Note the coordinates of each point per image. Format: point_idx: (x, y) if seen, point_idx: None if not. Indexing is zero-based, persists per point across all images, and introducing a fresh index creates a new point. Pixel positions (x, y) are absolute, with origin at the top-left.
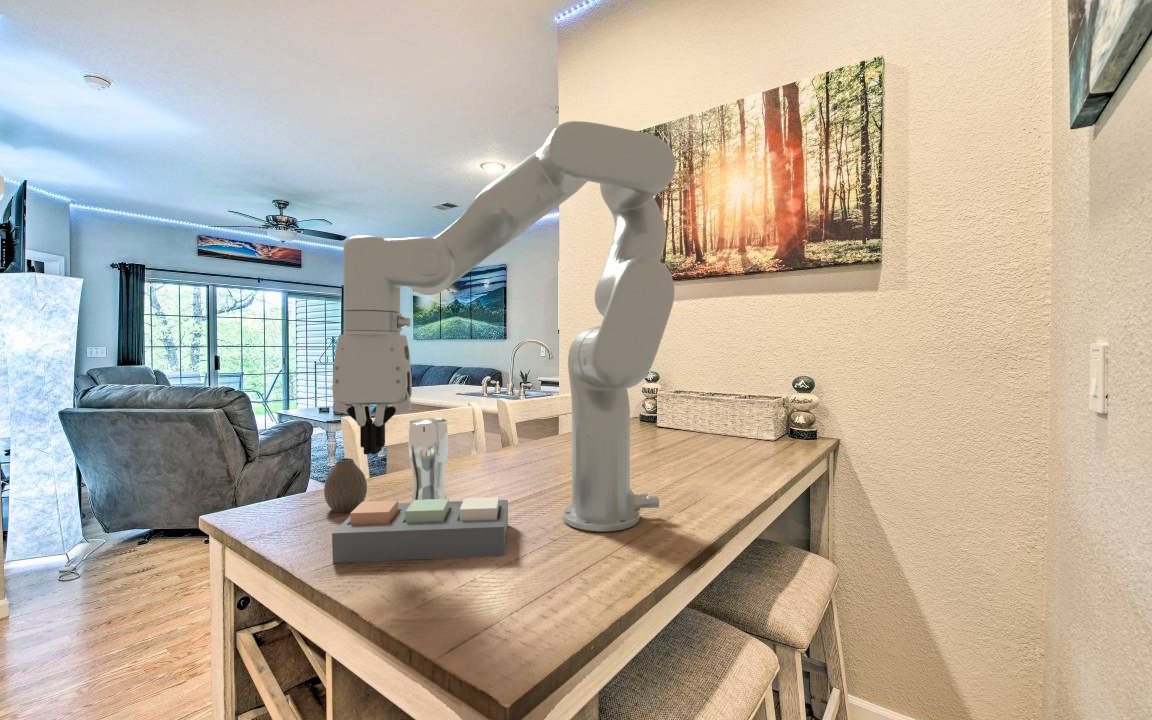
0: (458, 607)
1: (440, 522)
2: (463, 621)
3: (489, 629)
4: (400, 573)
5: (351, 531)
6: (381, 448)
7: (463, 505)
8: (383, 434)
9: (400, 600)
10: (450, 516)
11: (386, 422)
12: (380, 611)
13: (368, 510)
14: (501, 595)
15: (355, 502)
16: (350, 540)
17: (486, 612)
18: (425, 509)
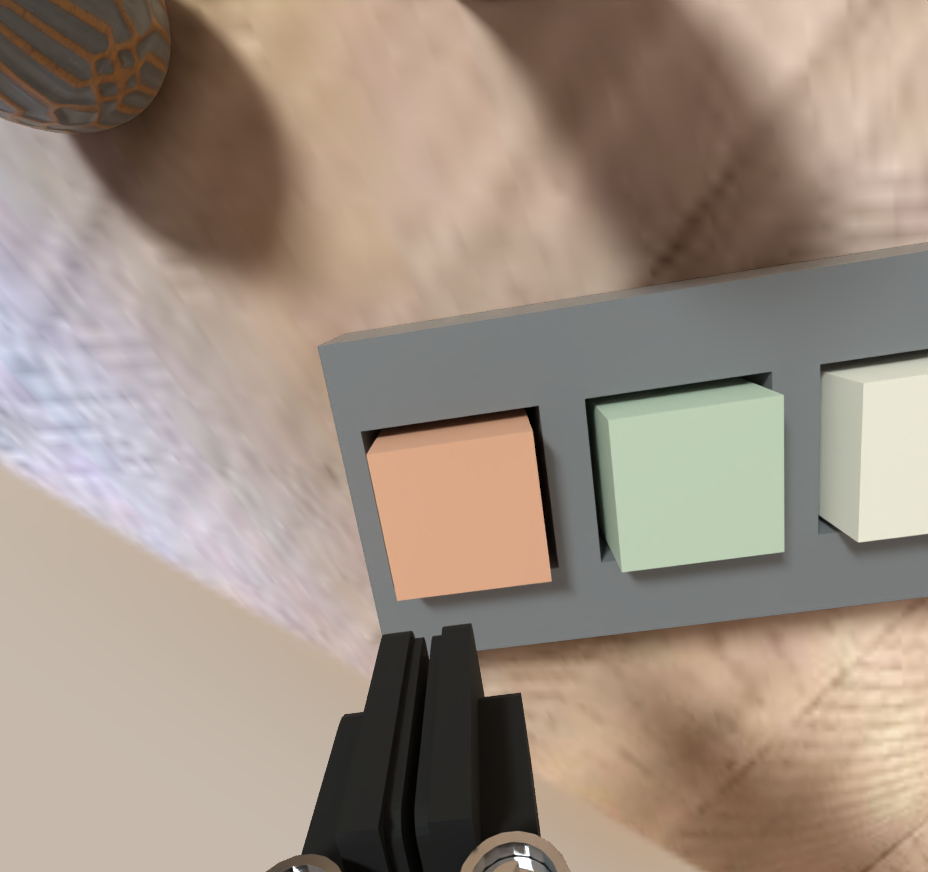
0: (817, 791)
1: None
2: (835, 835)
3: (891, 856)
4: (627, 652)
5: None
6: (471, 627)
7: (870, 490)
8: (536, 810)
9: (674, 769)
10: (784, 487)
11: (547, 848)
12: (644, 808)
13: (457, 567)
14: (917, 744)
15: (159, 84)
16: None
17: (882, 806)
18: (703, 548)
